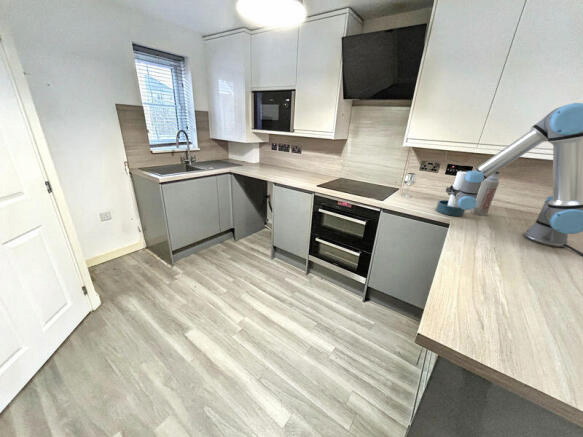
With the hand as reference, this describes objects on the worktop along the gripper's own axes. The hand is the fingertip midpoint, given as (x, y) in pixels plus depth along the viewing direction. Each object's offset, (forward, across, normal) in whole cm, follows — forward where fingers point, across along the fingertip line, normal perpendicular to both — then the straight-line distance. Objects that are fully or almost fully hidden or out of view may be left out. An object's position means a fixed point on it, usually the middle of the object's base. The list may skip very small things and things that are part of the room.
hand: (458, 188), depth 152 cm
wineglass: (+22, -29, -16) cm, 40 cm away
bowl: (-3, -1, -16) cm, 16 cm away
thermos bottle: (+6, +17, -16) cm, 24 cm away
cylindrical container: (-5, 0, -14) cm, 15 cm away
